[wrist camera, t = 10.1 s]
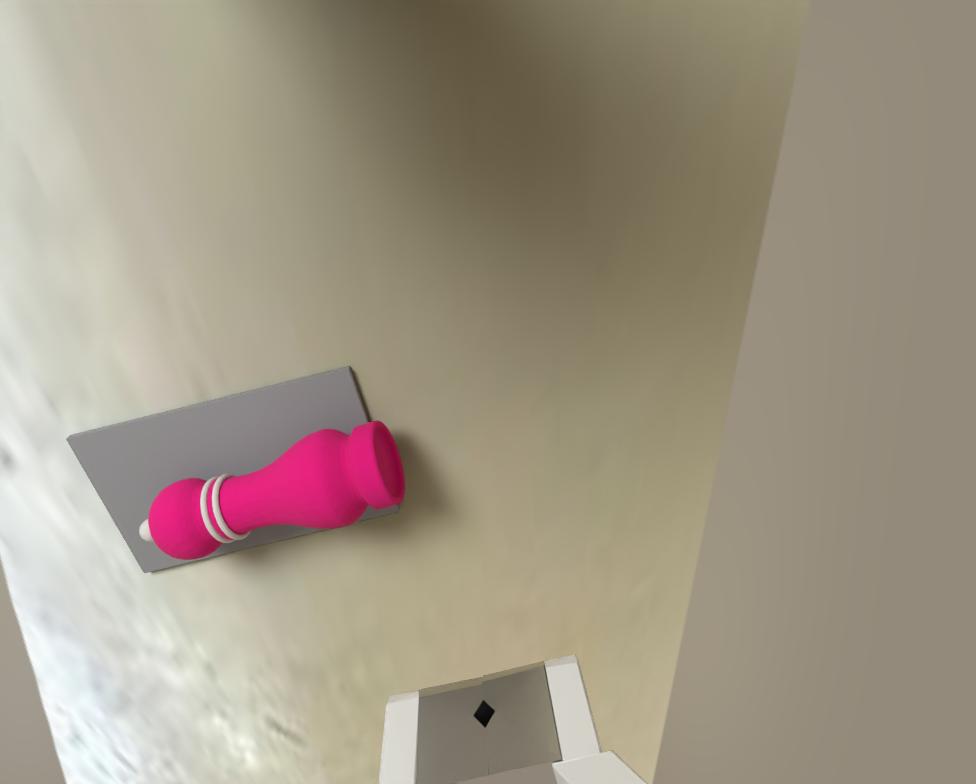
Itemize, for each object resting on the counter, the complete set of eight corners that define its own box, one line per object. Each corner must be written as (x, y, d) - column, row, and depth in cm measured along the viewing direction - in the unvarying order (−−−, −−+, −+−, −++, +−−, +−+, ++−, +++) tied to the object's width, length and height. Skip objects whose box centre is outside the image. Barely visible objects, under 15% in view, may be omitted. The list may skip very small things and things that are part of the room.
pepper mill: (377, 396, 46) (139, 468, 48) (363, 446, 39) (87, 526, 41) (411, 473, 49) (186, 537, 51) (403, 531, 42) (145, 602, 44)
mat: (349, 366, 46) (348, 368, 45) (399, 508, 51) (398, 511, 50) (70, 435, 46) (66, 438, 46) (147, 568, 51) (144, 573, 51)
